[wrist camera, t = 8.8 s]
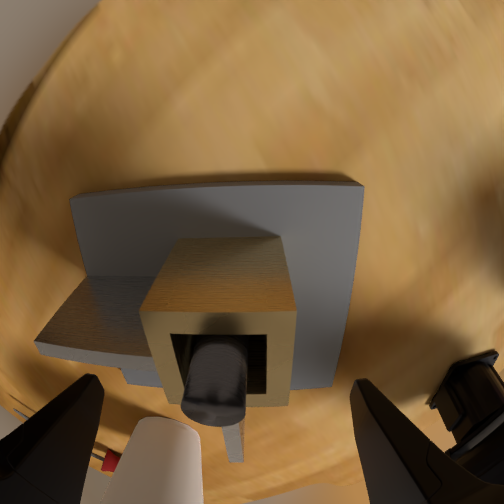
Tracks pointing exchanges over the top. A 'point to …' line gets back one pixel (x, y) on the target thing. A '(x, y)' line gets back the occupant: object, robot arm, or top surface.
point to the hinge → (188, 319)
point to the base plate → (239, 225)
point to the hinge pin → (217, 380)
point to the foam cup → (158, 466)
